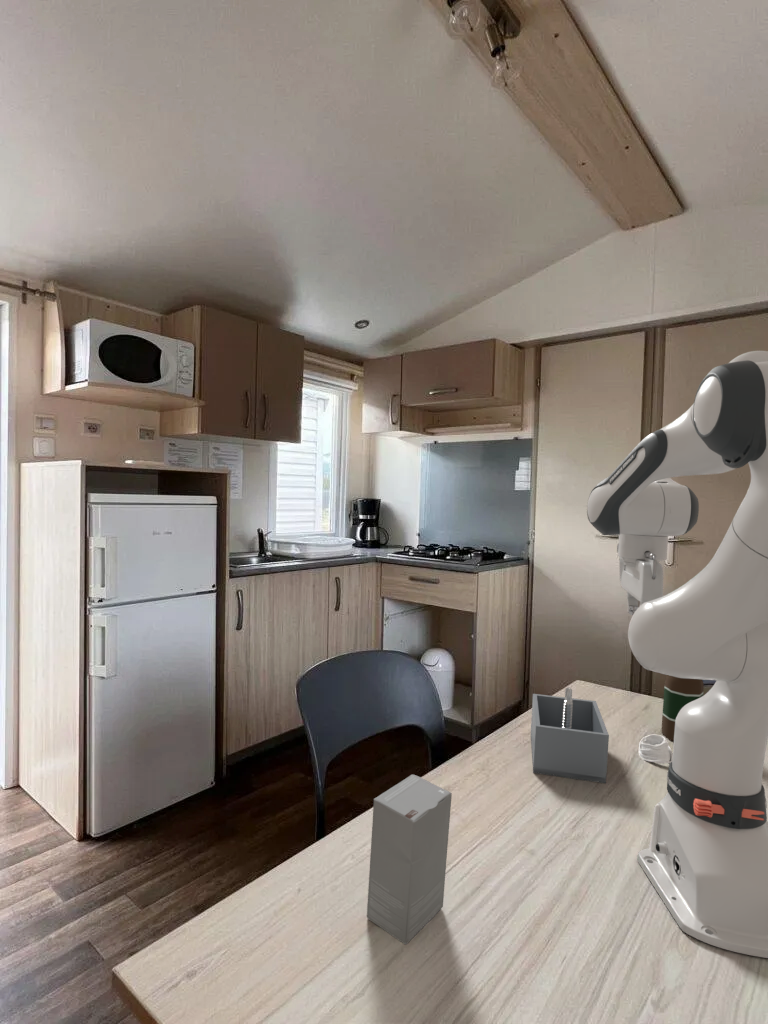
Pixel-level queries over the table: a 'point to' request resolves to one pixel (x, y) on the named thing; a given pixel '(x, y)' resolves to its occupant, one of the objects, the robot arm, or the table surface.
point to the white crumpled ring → (655, 749)
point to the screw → (567, 709)
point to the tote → (568, 739)
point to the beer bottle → (678, 700)
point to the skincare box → (408, 856)
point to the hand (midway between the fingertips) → (638, 619)
